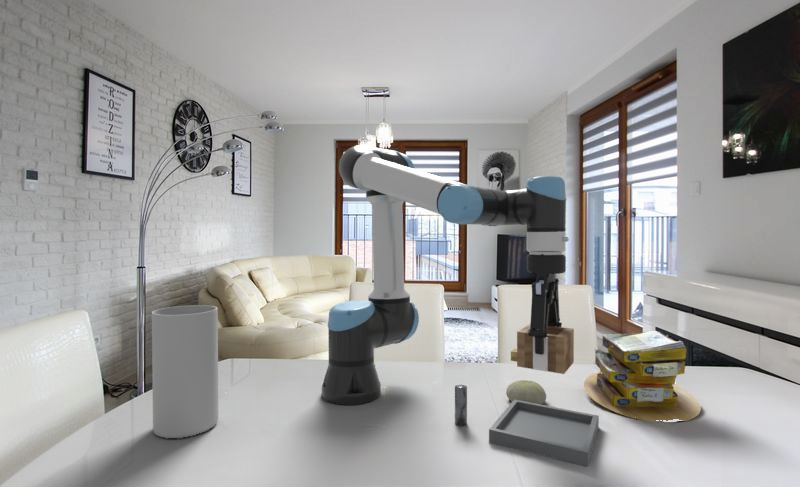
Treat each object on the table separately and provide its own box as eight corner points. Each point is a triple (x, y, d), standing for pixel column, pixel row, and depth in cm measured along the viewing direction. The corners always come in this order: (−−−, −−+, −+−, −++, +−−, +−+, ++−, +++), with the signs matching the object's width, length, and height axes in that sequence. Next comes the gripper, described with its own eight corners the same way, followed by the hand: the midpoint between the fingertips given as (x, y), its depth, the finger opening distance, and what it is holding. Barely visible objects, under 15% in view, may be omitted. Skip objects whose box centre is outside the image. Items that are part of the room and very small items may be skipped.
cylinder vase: (231, 418, 95) (230, 306, 95) (186, 444, 84) (185, 317, 83) (187, 411, 100) (186, 304, 99) (138, 434, 88) (137, 313, 87)
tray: (488, 441, 85) (489, 429, 85) (514, 409, 100) (514, 399, 100) (587, 466, 76) (587, 452, 76) (598, 427, 91) (598, 415, 91)
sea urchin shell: (552, 402, 100) (527, 377, 101) (527, 424, 101) (503, 398, 102) (547, 388, 109) (524, 365, 110) (524, 408, 110) (501, 385, 111)
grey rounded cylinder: (452, 424, 93) (453, 387, 92) (457, 419, 95) (457, 383, 95) (464, 427, 91) (464, 389, 91) (468, 422, 94) (468, 386, 93)
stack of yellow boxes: (721, 428, 91) (722, 349, 91) (595, 416, 97) (596, 343, 96) (674, 387, 115) (675, 326, 115) (576, 380, 121) (576, 321, 120)
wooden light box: (564, 374, 81) (564, 337, 81) (505, 364, 88) (505, 330, 87) (573, 362, 89) (573, 328, 89) (519, 354, 95) (519, 322, 95)
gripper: (554, 255, 76) (554, 382, 76) (574, 251, 95) (574, 353, 95) (512, 255, 80) (512, 375, 80) (539, 251, 98) (539, 349, 99)
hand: (545, 363), depth 88 cm, fingers closed on wooden light box, 9 cm apart
